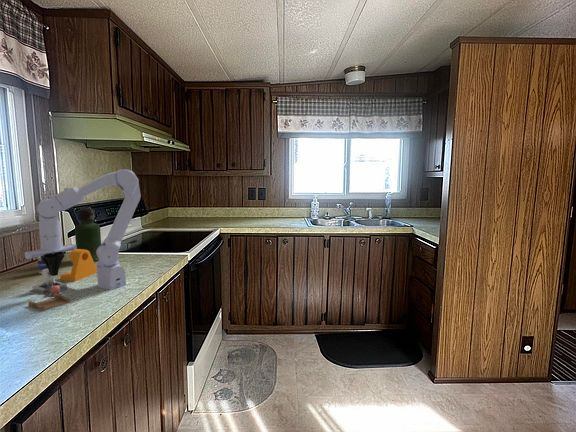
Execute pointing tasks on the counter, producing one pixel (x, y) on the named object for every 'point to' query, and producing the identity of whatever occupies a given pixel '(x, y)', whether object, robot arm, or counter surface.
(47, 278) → the steel round bar
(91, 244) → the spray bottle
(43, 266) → the pill bottle
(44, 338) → the counter surface
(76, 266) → the bracket
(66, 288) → the socket block
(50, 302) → the brown piece
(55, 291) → the button
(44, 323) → the counter surface
